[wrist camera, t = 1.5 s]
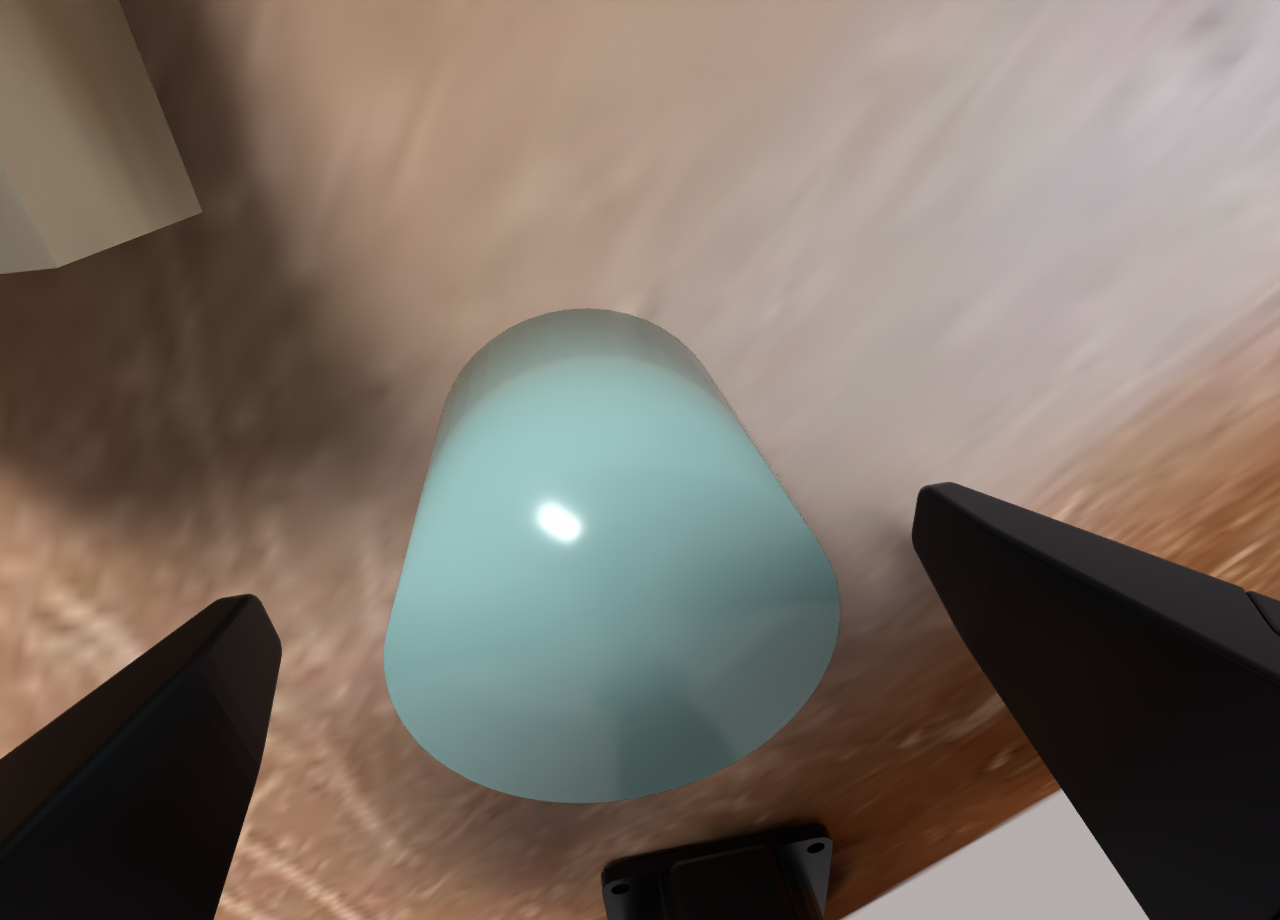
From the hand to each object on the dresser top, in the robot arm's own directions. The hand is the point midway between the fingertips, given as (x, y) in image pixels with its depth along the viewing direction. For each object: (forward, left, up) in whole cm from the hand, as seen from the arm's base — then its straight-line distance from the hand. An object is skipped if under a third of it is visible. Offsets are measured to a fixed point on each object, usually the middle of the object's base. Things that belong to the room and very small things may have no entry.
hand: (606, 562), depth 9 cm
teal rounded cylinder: (0, 0, -3) cm, 3 cm away
